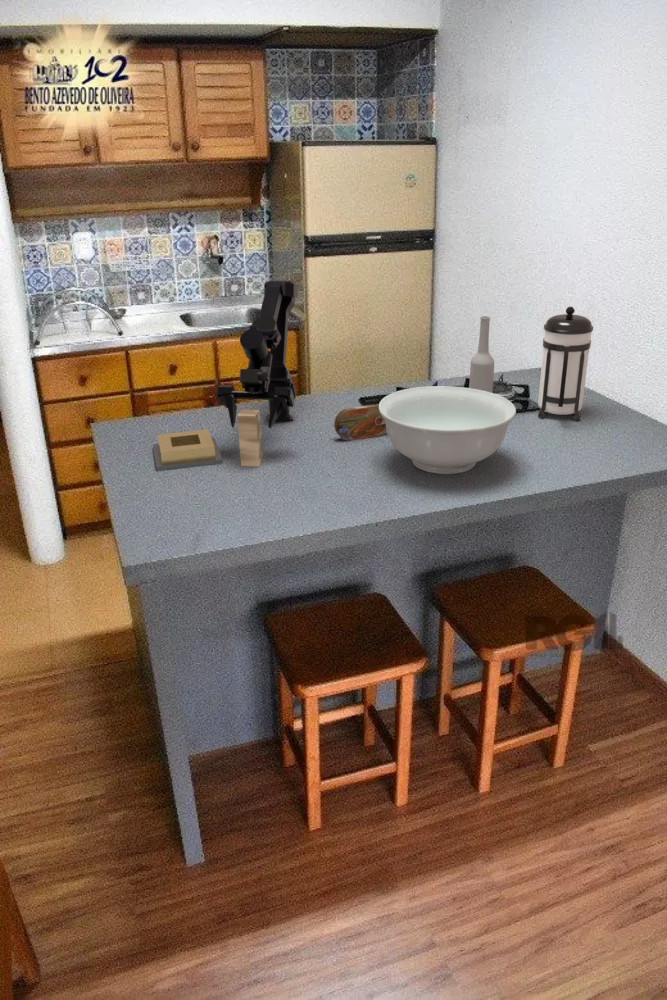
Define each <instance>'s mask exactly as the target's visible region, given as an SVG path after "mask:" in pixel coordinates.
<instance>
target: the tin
mask: <svg viewBox="0 0 667 1000" xmlns="http://www.w3.org/2000/svg"><path fill="white" fill-rule="evenodd" d="M333 426H334V430H335V432H336V435H338V436H339V437H340V438H341V439H343V440H344V441H348V442H349V441H350V442H351V441H357V440H359V441H360V440H364V439H370V438H371V439H372V438H377V437H380V436H382V435H383V434H384V433H386V432H387V429H386V424H385V419H384V417H383V416H382V415H381V414H380V412H379V404H378V405H377V404H369V405H363V406H355V407H348V408H344V409H342V410H341V411H339V412H338V414H336V416H335V418H334V425H333Z"/></svg>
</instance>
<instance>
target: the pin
mask: <svg viewBox="0 0 667 1000" xmlns="http://www.w3.org/2000/svg"><path fill="white" fill-rule="evenodd" d="M236 417H237V429H238V430H237V431H238V441H239V442H238V443H239V444H238V445H239V456H240V457H239V458H240V467H255V468H256V467H258V468H259V467H260V465H261V464H262V463H263V460H264V456H263V441H262V430H261V428H262V427H261V411H260V409H241V410H240V411H239V412H238V414H236Z"/></svg>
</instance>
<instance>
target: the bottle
mask: <svg viewBox="0 0 667 1000" xmlns="http://www.w3.org/2000/svg"><path fill="white" fill-rule="evenodd" d="M479 319H480V323H479V324H480V325H479V338H478V339H479V340H478V347H477V353H475V355H474V356H473V357H472V358H471V359H470V368H469V382H468V383H469V385H468V388H471V389H477V390H482V391H486V392H490V393H493V391H494V390H493V389H494V377H495V376H494V375H495V360H494V358H493V357H492V355H491V354H490V351H489V350H490V349H489V348H490V347H489V344H490V342H489V339H490V337H489V336H490V323H491V320H490V319H491V316H488V315H481V316H479ZM493 394H494V393H493Z"/></svg>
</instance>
